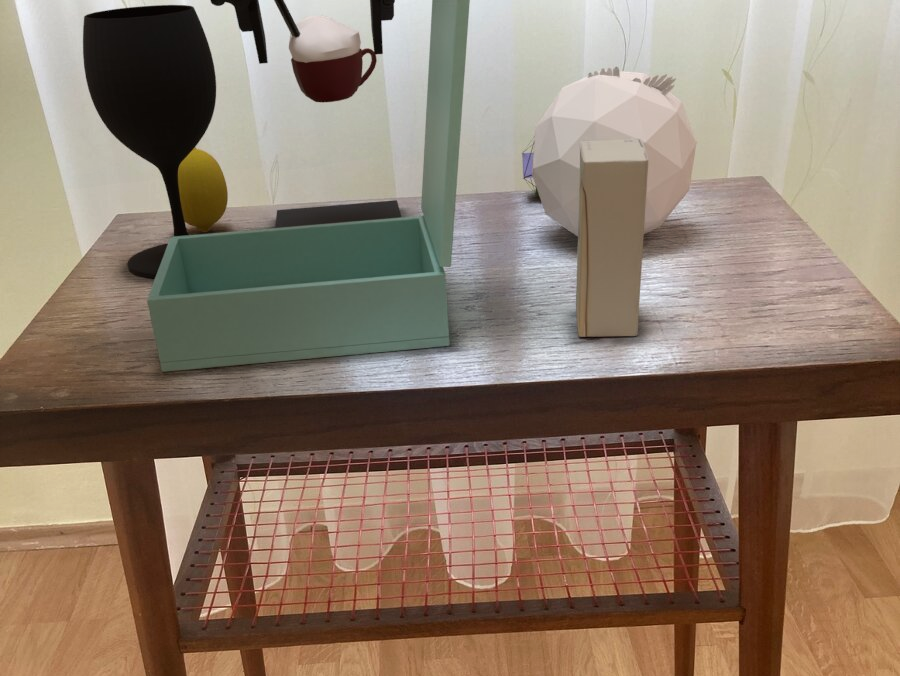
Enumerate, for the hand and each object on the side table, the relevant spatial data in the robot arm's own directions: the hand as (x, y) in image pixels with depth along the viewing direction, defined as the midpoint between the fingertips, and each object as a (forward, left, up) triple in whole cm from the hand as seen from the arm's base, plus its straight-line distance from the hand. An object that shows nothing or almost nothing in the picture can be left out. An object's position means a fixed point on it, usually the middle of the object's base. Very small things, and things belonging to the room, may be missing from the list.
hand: (319, 45), depth 99 cm
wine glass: (-14, -9, -16) cm, 23 cm away
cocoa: (0, -3, -4) cm, 5 cm away
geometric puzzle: (+22, +2, -16) cm, 27 cm away
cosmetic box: (+19, -34, -16) cm, 42 cm away
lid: (+8, -28, +1) cm, 29 cm away
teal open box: (-3, -28, -16) cm, 32 cm away
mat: (0, -3, -16) cm, 16 cm away
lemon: (-13, 0, -16) cm, 20 cm away
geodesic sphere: (+24, -13, -16) cm, 31 cm away
